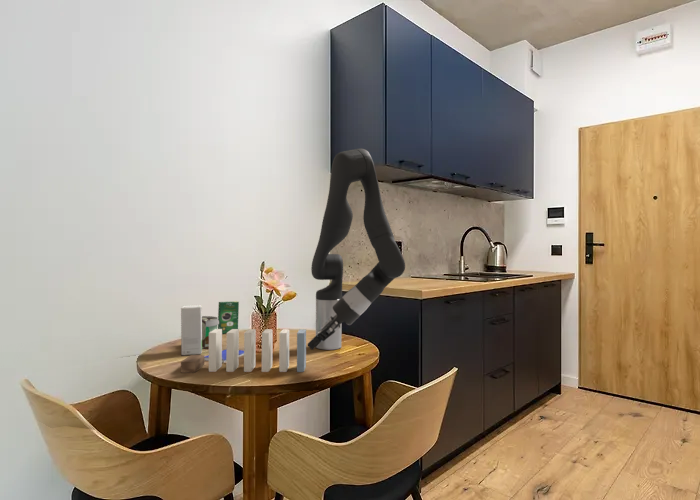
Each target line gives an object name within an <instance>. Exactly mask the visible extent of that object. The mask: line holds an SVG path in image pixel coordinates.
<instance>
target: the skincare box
mask: <svg viewBox="0 0 700 500" xmlns="http://www.w3.org/2000/svg"><path fill="white" fill-rule="evenodd" d="M202 310H203V308H202V304H194V305H193V304H192V305H182V306H181V308H180V324H181V325H180V326H181V327H180V331H181V333H180V339H181V342H180V343H181V350H180V351H181V353H180V354H181V356H190V355H202V352H203V347H202V316H203V313H202V312H203V311H202Z"/></svg>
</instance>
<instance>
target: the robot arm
mask: <svg viewBox="0 0 700 500" xmlns="http://www.w3.org/2000/svg"><path fill="white" fill-rule="evenodd" d="M329 180H330V181H329V188H328V189H329V190H328V194H327V200H326V201H327V202H326V207H325V210H324V214H323V217H322V218H323V219H322V224H321V229H320V235H319V238H318V242H317V245H316V248H315V251H314V254H313V258H312V262H311V268H310V269H311V275H312V277H313V279H315V280H319V281H320V280H321V281H329V280H330V284H328V285H326V287H325V286H324V287H322V288H320V289H318V290H316V293H315V336H314V337H313V338H312V339H311V340H310V341H309V342H308V343H307V347H308V348H310V350H313V351H314V349H315V348H316V349H319V350H326V351H329V350H338V349H341V348H342V331H343V330H342V328H343V327H342V323H345V324H346V325H347V326H351V325H352V324H354V323H355V322H356V320H357V319H359V318H360V316H361V315H362V314H364V313H365V312H366V311H367V309H368V308H369V307H370V305H372V303H373V302H374V301H375V300H376V299H377V298H378V297H380V296H381V294H382V293H383V292H384V290H385V288H386V287H387V286H388V285H389V284H390V283H391V282H393V281H394V279H397V278H399V277H401V276H402V275H403V274H404V272H405V270H406V262H405V259H404V257H403V254H402V252H401V250H400V248H399V246H398V244H397V242H396V240H395V236H394V233H393V231H392V227H391V224H390V222H389V220H388V217H387V215H386V214H387V213H386V211H385V208H384V204H383V199H382V195H381V191H380V185H379V182H378V177H377V171H376V168H375V162H374V161H373V158H372V156H371V154H370V152H369V151H368V150H367V149H364V148H355V149H349V150H344V151H340V152H338V153H336V154H335V156H334V158H333V161H332V165H331V171H330V179H329ZM359 181H360V183H361V186H362V188H363V190H364V191H363V192H364V206H363V207H364V209H363V215H362V217H363V224H364V225H363V226H364V229H365V231H366V234H367V237H368V239H369V242H370V244H371V246H372V248H373V249H374V252H375V254H376V257H377V260H378V261H377V263H376V265H374V266H373V268H372V269H371V270H370V272H368V273H367V274H365V275H364V276H363V277H362V278H361V279H360V280H359V281H358V282H357V283H355V285H354V286H353V287H351V288H350V289H349V290H348V291H347V292H346V293H345V294H344V295H343V277H344V275H343V273H344V259H343V257H342V255H341V254H338V253H330V252H331V251H333V250H334V248H336V247H337V246H338V245H339V244H340V243H342V241H344V240H345V238H346V237H347V236H348V234H349V233H350V230H351V226H352V222H353V215H354V214H353V210H352V207H351V204H350V203H349V201H348V197H347V195H348V191H349V187H350V185H351V184H352V183H356V182H359Z"/></svg>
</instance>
